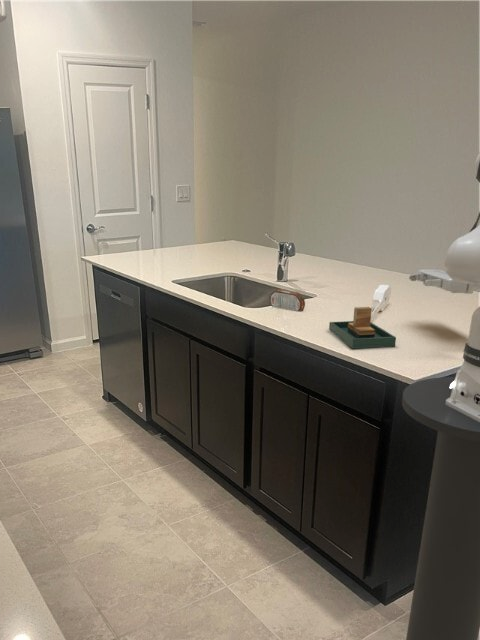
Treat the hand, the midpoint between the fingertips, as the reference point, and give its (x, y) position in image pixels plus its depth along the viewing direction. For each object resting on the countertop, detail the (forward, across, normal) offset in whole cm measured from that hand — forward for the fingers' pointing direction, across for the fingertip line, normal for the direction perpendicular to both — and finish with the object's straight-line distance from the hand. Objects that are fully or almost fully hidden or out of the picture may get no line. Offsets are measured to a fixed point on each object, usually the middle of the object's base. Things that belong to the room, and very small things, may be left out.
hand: (417, 280), depth 173 cm
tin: (+31, -40, +18) cm, 54 cm away
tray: (+17, 0, +18) cm, 25 cm away
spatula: (+3, -24, +17) cm, 30 cm away
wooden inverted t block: (+17, 0, +17) cm, 24 cm away
